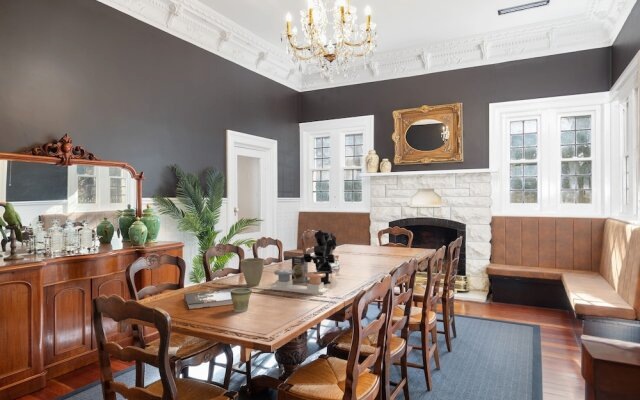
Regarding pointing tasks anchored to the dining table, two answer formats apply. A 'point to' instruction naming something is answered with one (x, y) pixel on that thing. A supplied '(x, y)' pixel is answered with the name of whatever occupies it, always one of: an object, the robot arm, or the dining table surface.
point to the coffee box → (299, 269)
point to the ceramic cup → (240, 299)
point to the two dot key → (284, 274)
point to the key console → (300, 287)
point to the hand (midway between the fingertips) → (317, 269)
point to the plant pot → (252, 270)
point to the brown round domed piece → (315, 277)
